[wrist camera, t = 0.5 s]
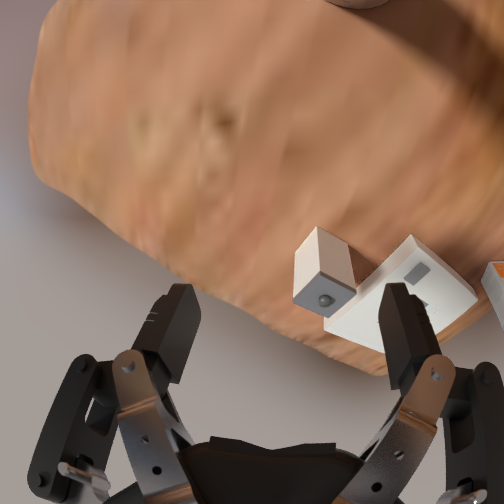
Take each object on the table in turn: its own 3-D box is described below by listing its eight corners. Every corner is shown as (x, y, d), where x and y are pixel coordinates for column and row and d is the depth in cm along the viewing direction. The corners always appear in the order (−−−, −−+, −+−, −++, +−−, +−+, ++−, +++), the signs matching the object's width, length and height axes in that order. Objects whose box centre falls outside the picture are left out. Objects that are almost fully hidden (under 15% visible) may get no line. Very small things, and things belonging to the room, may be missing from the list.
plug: (316, 225, 30) (320, 279, 23) (347, 243, 31) (357, 298, 24) (295, 252, 32) (292, 307, 26) (325, 267, 33) (328, 323, 27)
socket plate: (411, 233, 28) (418, 249, 26) (473, 288, 31) (479, 301, 29) (323, 316, 39) (324, 332, 37) (397, 347, 42) (399, 360, 40)
